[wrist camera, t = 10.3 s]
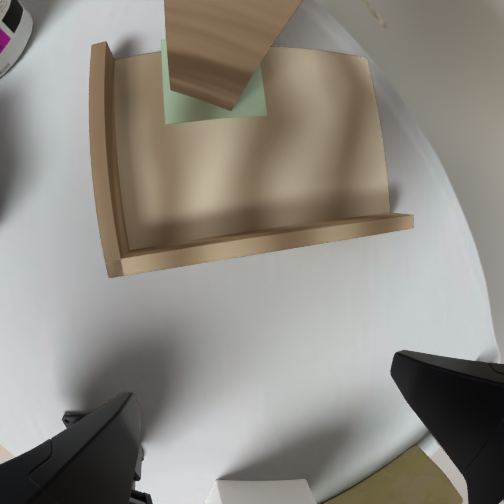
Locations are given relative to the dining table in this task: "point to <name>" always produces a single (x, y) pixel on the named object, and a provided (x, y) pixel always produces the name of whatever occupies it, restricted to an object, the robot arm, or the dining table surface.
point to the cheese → (403, 484)
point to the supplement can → (13, 32)
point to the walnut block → (220, 44)
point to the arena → (234, 160)
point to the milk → (260, 492)
